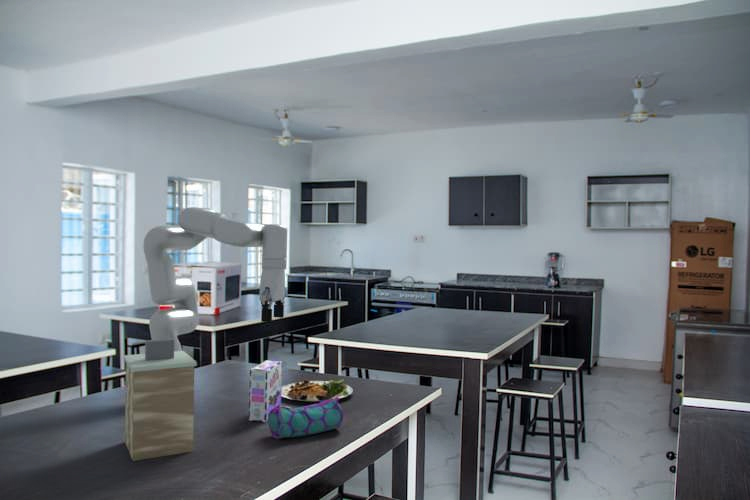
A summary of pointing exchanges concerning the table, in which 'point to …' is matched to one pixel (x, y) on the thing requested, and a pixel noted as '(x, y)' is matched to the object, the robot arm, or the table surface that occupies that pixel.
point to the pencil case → (305, 419)
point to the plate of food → (316, 390)
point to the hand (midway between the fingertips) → (272, 319)
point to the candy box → (264, 389)
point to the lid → (159, 357)
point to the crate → (159, 412)
